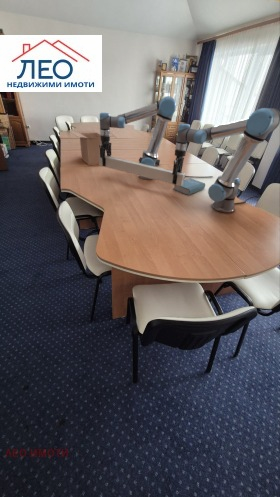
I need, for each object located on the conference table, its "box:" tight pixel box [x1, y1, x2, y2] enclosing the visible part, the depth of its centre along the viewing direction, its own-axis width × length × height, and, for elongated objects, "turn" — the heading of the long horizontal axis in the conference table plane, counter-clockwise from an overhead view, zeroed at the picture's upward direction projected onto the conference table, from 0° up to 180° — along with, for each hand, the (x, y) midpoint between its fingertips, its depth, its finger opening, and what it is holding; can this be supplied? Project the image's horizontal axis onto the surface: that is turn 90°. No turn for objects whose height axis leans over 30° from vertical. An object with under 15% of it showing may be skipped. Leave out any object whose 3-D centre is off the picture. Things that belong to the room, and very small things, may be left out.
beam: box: [98, 154, 186, 186], centre depth 176 cm, size 76×5×8 cm, turn 60°
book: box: [173, 177, 206, 196], centre depth 186 cm, size 23×16×5 cm
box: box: [70, 129, 114, 166], centre depth 229 cm, size 44×36×27 cm
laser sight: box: [138, 156, 161, 166], centre depth 237 cm, size 10×22×10 cm, turn 78°
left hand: (106, 165), depth 190 cm, fingers closed on beam, 5 cm apart
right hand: (175, 182), depth 165 cm, fingers closed on beam, 5 cm apart
